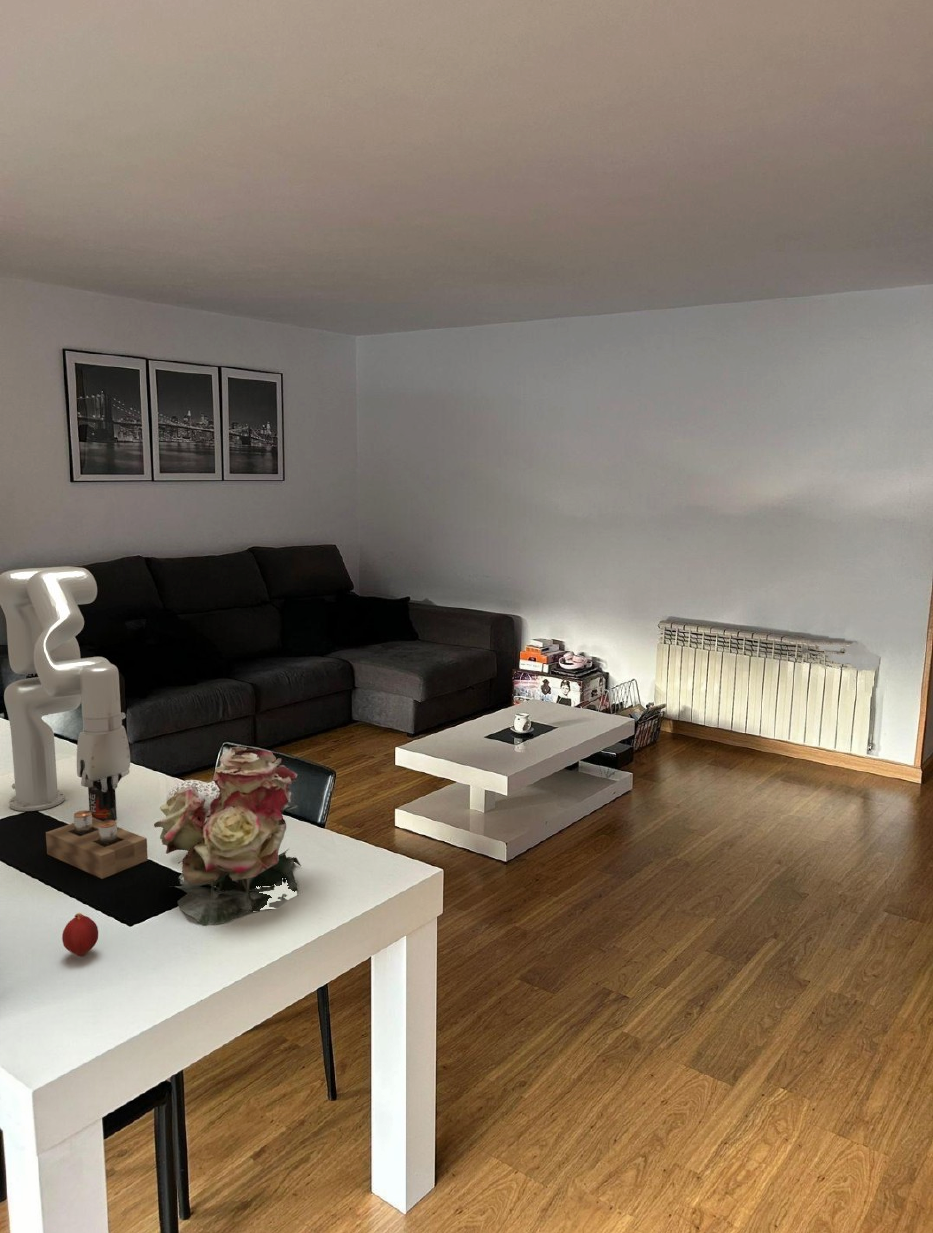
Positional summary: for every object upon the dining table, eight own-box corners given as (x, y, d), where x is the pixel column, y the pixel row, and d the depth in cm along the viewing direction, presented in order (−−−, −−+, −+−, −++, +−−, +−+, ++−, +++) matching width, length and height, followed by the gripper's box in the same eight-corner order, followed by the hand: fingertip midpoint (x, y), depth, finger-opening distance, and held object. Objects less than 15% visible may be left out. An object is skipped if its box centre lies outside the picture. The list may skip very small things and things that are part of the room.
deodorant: (121, 816, 222) (118, 756, 219) (109, 825, 216) (106, 764, 213) (97, 814, 222) (94, 755, 220) (85, 824, 217) (81, 763, 214)
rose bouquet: (153, 879, 190) (147, 739, 184) (294, 856, 201) (291, 724, 196) (166, 938, 166) (159, 780, 161) (324, 909, 178) (322, 761, 173)
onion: (70, 946, 163) (67, 904, 162) (103, 945, 164) (101, 903, 162) (58, 964, 157) (55, 921, 156) (93, 963, 158) (90, 920, 156)
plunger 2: (96, 845, 196) (94, 823, 195) (111, 839, 198) (109, 818, 198) (106, 849, 193) (105, 827, 193) (121, 843, 196) (120, 822, 196)
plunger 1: (71, 834, 201) (70, 814, 200) (86, 829, 203) (85, 809, 203) (81, 838, 199) (79, 817, 198) (96, 833, 201) (94, 812, 201)
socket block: (47, 854, 200) (45, 832, 199) (92, 837, 209) (91, 816, 208) (102, 878, 189) (100, 855, 188) (147, 860, 198) (146, 838, 197)
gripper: (122, 712, 199) (127, 793, 202) (58, 728, 187) (64, 814, 190) (144, 718, 195) (148, 800, 198) (80, 734, 183) (85, 822, 186)
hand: (107, 807), depth 194 cm, fingers closed
